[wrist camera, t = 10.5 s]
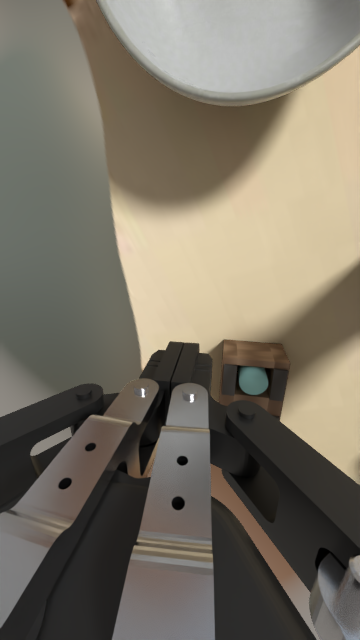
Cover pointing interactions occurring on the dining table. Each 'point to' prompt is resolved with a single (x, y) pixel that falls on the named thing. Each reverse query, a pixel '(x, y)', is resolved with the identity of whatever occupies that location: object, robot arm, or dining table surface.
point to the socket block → (255, 356)
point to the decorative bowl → (235, 44)
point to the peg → (252, 379)
